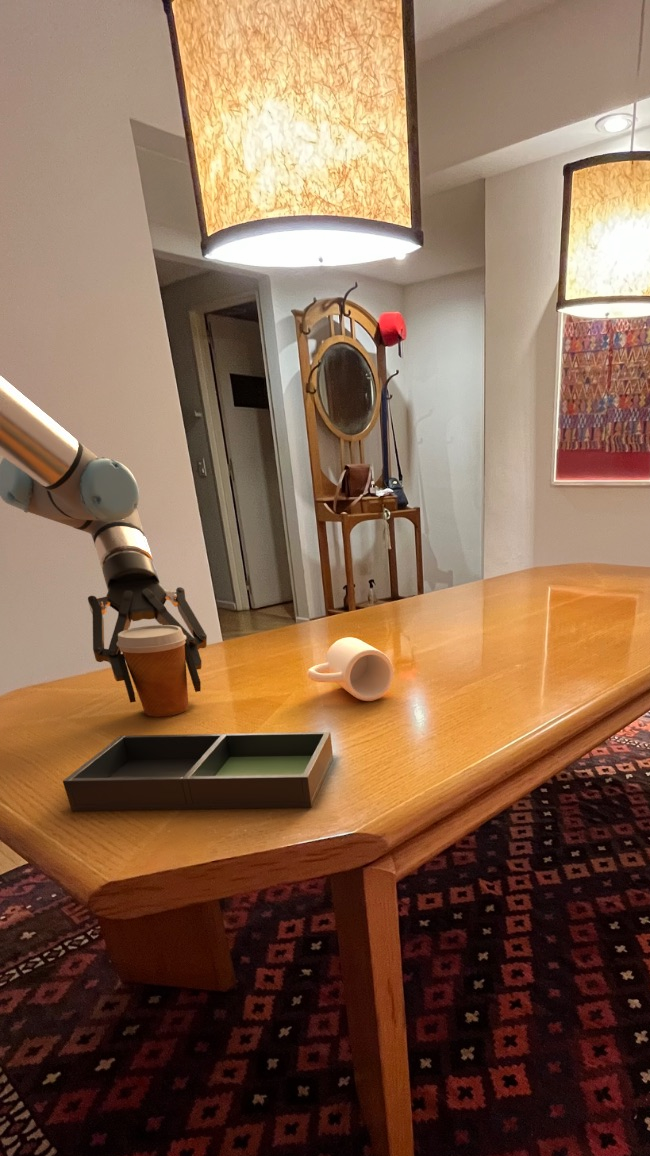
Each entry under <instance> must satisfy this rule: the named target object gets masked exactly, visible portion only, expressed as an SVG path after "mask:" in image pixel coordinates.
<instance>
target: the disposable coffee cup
mask: <svg viewBox="0 0 650 1156" xmlns="http://www.w3.org/2000/svg"><path fill="white" fill-rule="evenodd" d="M185 640H186V635H184V634H183V632H182V629H181V627H178V626H173V625H162V624H156V625H155V624H153V625H144V626H137V627H131V628H128V630H124V631H122V632H120V633H119V634H118V642H117V643H116V644H117V646H118V647H119V648H120V650H121V651H122V652H121V654H123V655H124V658H125V662H126V665H127V669H128V672H129V675H130V678H131V680H132V682H133V684H134V687H135V690H136V692H137V695H138V697H139V700H140V703H141V705H142V709H143V711H144V713H145V715H147V716H149V717H156V718H160V717H161V718H163V717H172V716H175V715H179V714H182V713H184V712H187V710H189V707H190V706H189V691H188V676H187V675H188V674H187V663H186V660H185V646H184V644H185V643H186V642H185Z"/></svg>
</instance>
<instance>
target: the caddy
mask: <svg viewBox="0 0 650 1156" xmlns="http://www.w3.org/2000/svg"><path fill="white" fill-rule="evenodd" d="M332 743H333V742H332V736H331V732H330V731H312V732H311V731H309V732H308V731H307V732H305V731H303V732H253V733H252V732H251V733H250V732H249V733H245V732H244V733H243V732H242V733H197V734H195V733H194V734H192V733H191V734H190V733H189V734H138V735H137V734H136V735H135V734H133V735H119V736H118V737H117V738H116V739H114V740H113V741H112V742H111V743H109V744H107V746H105V747H104V748H103V749H102V750H100V751H99V752H97V754H95V755H94V756H93V757H92V758H90V759H89V760H88V761H86V762H85V763H84V764H82V765H81V766H80V767H79V768H77V769H76V770H75V771H73V772H72V773H71V774H70V775H68V776H67V777H66V778H64V779H63V780H62V784H63V787H64V790H65V794H66V796H67V800H68V804H69V806H70V810H71V812H83V811H84V812H94V811H96V812H98V811H99V812H100V811H102V812H103V811H160V810H161V811H163V810H165V811H168V810H169V811H170V810H175V811H176V810H231V809H232V810H233V809H234V810H235V809H238V810H239V809H240V810H241V809H297V808H298V809H305V808H309V809H310V808H312V807H313V805H314V803H315V801H316V799H317V796H318V794H319V791H320V789H321V787H322V785H323V783H324V780H325V778H326V776H327V774H328V772H329V769H330V767H331V765H332V763H333V760H334V753H333V744H332Z"/></svg>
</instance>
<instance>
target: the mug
mask: <svg viewBox="0 0 650 1156" xmlns="http://www.w3.org/2000/svg"><path fill="white" fill-rule="evenodd" d="M307 676H308V678H309V679H310V680H311V681H313V682H316V683H326V684H337V685H338V686H339V687H341V688H342V689H344V690H345V691H346V692H348V693H349V694H350V695H352V696H353V697H354V698H356V699H358V700H360V701H363V702H372V701H376V700H379V699H380V698H382V697H383V696H385V695H386V694H387V693H388V691H389V690H390V689H391V687H392V685H393V682H394V677H395V669H394V665H393V663H392V660H391V659H390V658H389V656H387V654H385V653H384V652H383V651H381V650H379V649H378V648H376V647H374V646H372V645H369V643H366V642H364V641H363V640H361V639H359V638H356V637H350V636H349V637H348V636H347V637H343V638H340V639H338V640H336V641H335V642H334V643H333V644H332V645H330V646H329V648H328V649H327V652H326V655H325V661H324V662H323V663H320V664H316V665H314V666H312V667H310V668H308V670H307Z"/></svg>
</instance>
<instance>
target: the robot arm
mask: <svg viewBox="0 0 650 1156" xmlns="http://www.w3.org/2000/svg"><path fill="white" fill-rule="evenodd" d="M0 456H1V457H2V459H1V461H0V498H1V501H3V502H4V503H5V504H8V505H10V506H12V507H15V508H17V509H20V510H21V511H23V512H24V513H26V514H27V513H30V514H33V515H36V516H39V517H42V518H45V519H48V520H51V521H53V522H57V523H60V524H62V525H66V526H68V527H71V528H73V529H76V530H79V531H82V532H85V533H88V534H90V536H91V538H92V541H93V544H94V547H95V551H96V554H97V558H98V560H99V564H100V568H101V569H102V570H101V571H102V575H103V578H104V581H105V586H106V589H107V592H106V596H102V597H98V598H97V597H96V596H95V595H89V596H88V597H87V602H88V606H89V610H90V613H91V615H92V651H93V654H94V658H95V661H96V662H98V663H103V662H108V663H109V664H110V666H111V667H110V668H111V670H112V674H113V677H114V679H115V681H116V682H124V685H125V689H126V692H127V695H128V699H129V703H135V702H136V694H135V690H134V687H133V683H132V678H131V675H130V671H129V669H128V666H127V663H126V661H125V658H124V655H123V653H122V651H121V650H120V648H119V647H118V646H117V644H116V643H117V642H118V634H119V633H120V632H122V631H124V630H128V629H130V626H131V623H132V622H139V621H142V620H155V621H156V622H157V623H158V625H173V626H178V627H181V629H182V632H183V634H184V635H186V640H185V642H186V643H185V644H184V646H185V661H186V668H187V670H188V673H189V677H190V679H191V682H192V686H193V690H194V692H195V693H197V692H201V689H202V687H201V686H202V685H201V679H200V676H199V673H198V670H202V658H201V655H200V652H199V649H206V648H207V644H208V643H207V641H208V637H207V633H206V632H205V630H204V629H203V626H202V625H201V623H200V621H199V620H198V618H197V616H196V615H195V613H194V611H193V610H192V608H191V606H190V604H189V602H188V600H186V592H185V588H184V587H180V586H179V587H177V588H176V589H175V590H166V589H165V588H164V587H163V586H162V584H161V582H160V579H159V575H158V572H157V570H156V566H155V563H154V560H153V556H152V553H151V549H150V546H149V544H148V541H147V537H146V534H145V531H144V527H143V524H142V521H141V517H140V514H139V513H140V512H139V510H138V505H139V500H140V489H139V485H138V482H137V480H136V478H135V476H134V475H133V473H132V472H131V470H130V469H129V468H128V467H127V466H126V465H124V464H123V463H121V462H120V461H117V460H115V459H110V458H108V457H104V456H102V457H98V456H97V455H96V454H95V453H93V452H92V451H91V450H90V449H88V448H87V447H86V446H85V445H84V444H82V443H81V442H80V441H79V440H77V439H76V438H75V437H74V436H73V435H71V434H70V433H69V432H68V431H67V430H65V428H63V427H62V426H61V425H60V424H58V423H57V422H56V421H55V420H54V419H53V418H51V417H50V416H49V415H48V414H46V413H45V412H44V411H43V410H42V409H41V408H39V407H38V406H37V405H36V404H35V403H33V402H32V401H31V400H30V399H28V398H27V397H26V396H25V395H23V393H21V392H20V391H19V390H18V389H17V388H15V387H14V385H12V384H11V383H10V382H8V381H7V380H6V379H5V378H4V377H2V376H1V375H0ZM167 601H169V602H171V604H172V605H173V606H174V607H176V608H177V610H178V613H179V615H180V617H181V619H182V620H183V621H184V624H185V625H186V627H187V628H188V630H189V632H188V631H187V630H186V629H185V627H183V625H182V624H181V623H180V622H179V621H178V620H177V619H176V618H175V617H174V616H173V614H171V613H170V612H169V611H168V609H167V607H166V606H165V604H166V602H167ZM108 607H110V608H112V609H113V610H114V611H116V612H117V619H116V622H115V625H114V629H113V631H112V635H111V638H110V642H109V646H108V648H105V621H104V615H105V614H106V612H107V608H108Z"/></svg>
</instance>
